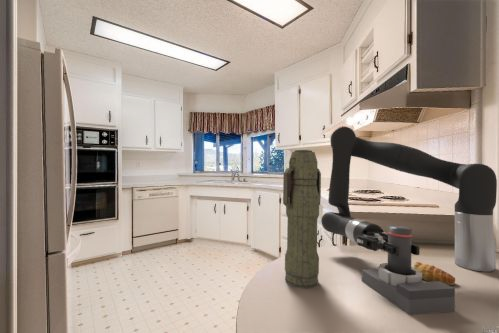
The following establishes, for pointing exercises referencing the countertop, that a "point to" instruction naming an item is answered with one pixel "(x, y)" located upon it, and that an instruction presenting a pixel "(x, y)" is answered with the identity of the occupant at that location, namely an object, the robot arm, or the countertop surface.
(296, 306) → the countertop surface
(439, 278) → the pastry
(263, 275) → the countertop surface
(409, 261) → the lens
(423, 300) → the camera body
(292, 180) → the thermos
